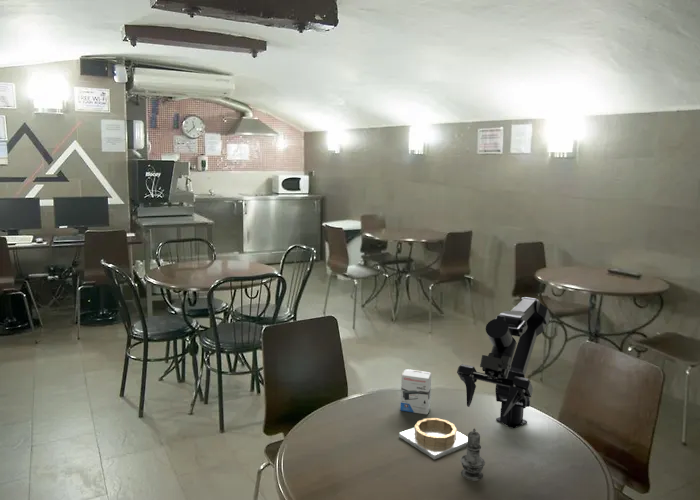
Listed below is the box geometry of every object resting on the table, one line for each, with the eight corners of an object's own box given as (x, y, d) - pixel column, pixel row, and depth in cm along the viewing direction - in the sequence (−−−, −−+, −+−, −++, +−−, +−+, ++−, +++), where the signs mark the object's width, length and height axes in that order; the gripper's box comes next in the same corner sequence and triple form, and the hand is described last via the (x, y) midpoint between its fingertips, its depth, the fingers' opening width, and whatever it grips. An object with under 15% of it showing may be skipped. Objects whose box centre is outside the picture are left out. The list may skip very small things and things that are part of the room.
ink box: (399, 411, 168) (400, 374, 166) (403, 404, 172) (404, 368, 170) (427, 415, 165) (428, 378, 163) (430, 408, 170) (431, 371, 168)
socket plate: (435, 423, 160) (436, 411, 160) (472, 443, 149) (472, 431, 148) (398, 436, 152) (399, 424, 152) (434, 459, 141) (434, 446, 140)
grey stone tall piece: (485, 482, 131) (487, 435, 129) (460, 479, 132) (462, 433, 130) (483, 468, 137) (486, 424, 135) (459, 466, 138) (461, 421, 136)
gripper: (460, 335, 145) (442, 389, 138) (532, 349, 135) (516, 408, 128) (470, 354, 153) (453, 406, 146) (539, 368, 143) (524, 425, 136)
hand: (485, 410), depth 139 cm, fingers open, 9 cm apart
